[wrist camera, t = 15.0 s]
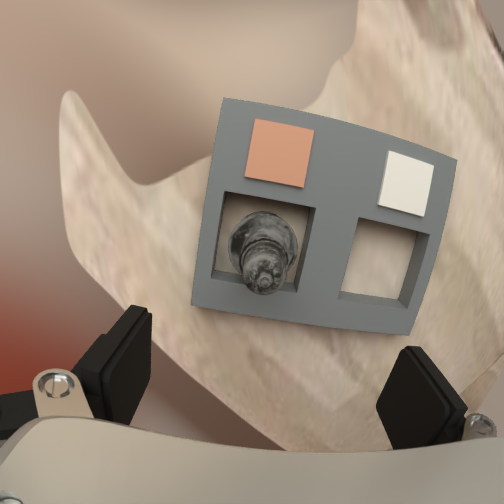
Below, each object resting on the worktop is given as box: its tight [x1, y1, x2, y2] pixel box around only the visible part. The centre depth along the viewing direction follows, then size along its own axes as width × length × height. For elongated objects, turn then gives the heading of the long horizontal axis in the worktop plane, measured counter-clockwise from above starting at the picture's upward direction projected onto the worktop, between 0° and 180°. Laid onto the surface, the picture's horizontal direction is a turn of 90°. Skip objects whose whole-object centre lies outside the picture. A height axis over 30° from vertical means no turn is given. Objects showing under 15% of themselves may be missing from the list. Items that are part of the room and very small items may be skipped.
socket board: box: [191, 98, 457, 336], centre depth 28 cm, size 19×23×3 cm
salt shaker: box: [228, 211, 298, 295], centre depth 24 cm, size 6×6×12 cm
